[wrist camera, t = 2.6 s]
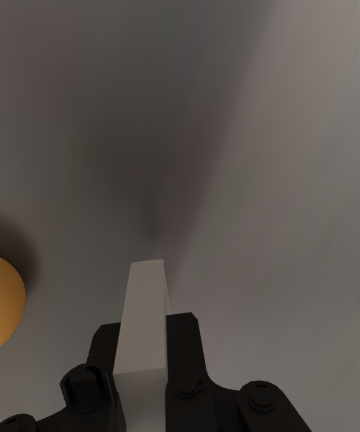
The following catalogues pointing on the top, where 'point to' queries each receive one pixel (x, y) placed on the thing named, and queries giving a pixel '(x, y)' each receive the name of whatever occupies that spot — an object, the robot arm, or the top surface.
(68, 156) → the top surface
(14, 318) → the ball
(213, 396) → the robot arm
